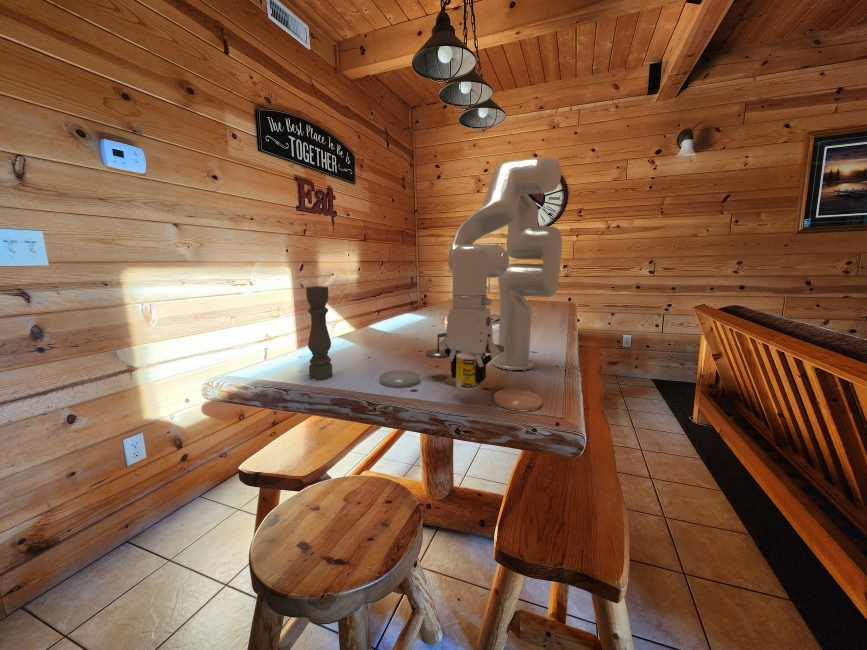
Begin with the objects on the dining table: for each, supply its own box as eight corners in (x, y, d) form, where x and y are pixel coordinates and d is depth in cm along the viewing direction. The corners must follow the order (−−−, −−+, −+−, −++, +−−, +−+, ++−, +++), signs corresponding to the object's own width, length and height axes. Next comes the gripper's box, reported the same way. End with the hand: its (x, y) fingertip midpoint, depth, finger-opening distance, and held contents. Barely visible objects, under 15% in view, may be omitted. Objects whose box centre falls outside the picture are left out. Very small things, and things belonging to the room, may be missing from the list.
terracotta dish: (504, 390, 94) (504, 385, 94) (547, 399, 88) (548, 394, 88) (486, 404, 85) (486, 399, 85) (532, 415, 79) (533, 410, 79)
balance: (434, 372, 108) (434, 317, 105) (506, 387, 96) (509, 325, 93) (420, 378, 102) (420, 320, 99) (495, 396, 90) (498, 330, 87)
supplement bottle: (460, 392, 83) (461, 348, 81) (452, 383, 88) (453, 342, 86) (483, 389, 84) (484, 346, 82) (474, 381, 89) (475, 340, 87)
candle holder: (306, 380, 100) (301, 288, 95) (313, 373, 106) (308, 286, 101) (329, 380, 100) (325, 288, 95) (334, 373, 106) (331, 286, 101)
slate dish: (396, 372, 108) (396, 368, 107) (427, 379, 102) (427, 374, 102) (370, 382, 99) (370, 378, 98) (403, 390, 93) (403, 386, 92)
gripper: (512, 303, 80) (508, 381, 84) (445, 297, 90) (444, 368, 93) (498, 307, 74) (495, 391, 78) (427, 301, 83) (428, 376, 87)
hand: (467, 378), depth 86 cm, fingers closed on supplement bottle, 5 cm apart
